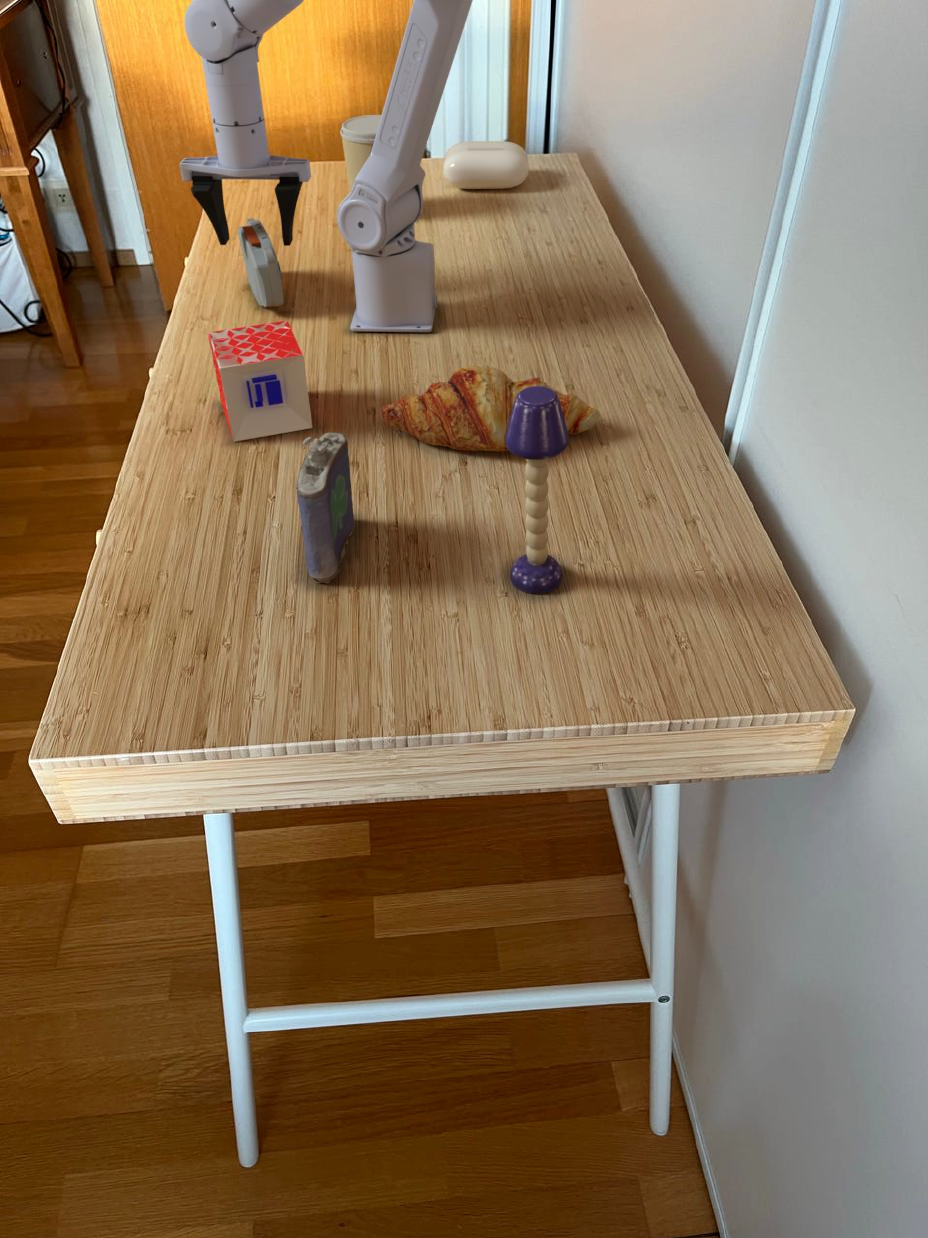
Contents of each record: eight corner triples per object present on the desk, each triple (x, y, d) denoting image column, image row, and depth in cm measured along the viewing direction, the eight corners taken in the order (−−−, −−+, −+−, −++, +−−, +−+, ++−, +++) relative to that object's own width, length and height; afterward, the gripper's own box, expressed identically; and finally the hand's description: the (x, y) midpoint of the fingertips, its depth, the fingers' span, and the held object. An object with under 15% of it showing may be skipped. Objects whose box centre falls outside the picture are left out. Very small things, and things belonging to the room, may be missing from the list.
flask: (334, 586, 80) (319, 474, 73) (299, 583, 81) (281, 471, 73) (359, 519, 87) (348, 411, 80) (327, 517, 87) (313, 409, 80)
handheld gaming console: (288, 317, 118) (279, 250, 112) (264, 321, 117) (254, 254, 112) (265, 271, 128) (255, 208, 123) (242, 275, 127) (232, 211, 122)
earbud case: (444, 172, 157) (443, 136, 153) (526, 172, 156) (527, 135, 153) (442, 194, 149) (441, 156, 145) (529, 194, 149) (530, 156, 145)
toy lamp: (518, 601, 78) (523, 416, 67) (493, 568, 82) (495, 386, 71) (571, 585, 80) (585, 401, 69) (545, 553, 83) (554, 372, 72)
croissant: (590, 445, 102) (592, 366, 100) (607, 453, 92) (610, 364, 90) (385, 447, 101) (383, 366, 99) (379, 454, 92) (377, 365, 90)
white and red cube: (297, 391, 104) (287, 320, 99) (312, 427, 99) (303, 354, 93) (221, 404, 102) (207, 332, 97) (232, 442, 97) (218, 368, 92)
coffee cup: (410, 224, 140) (405, 133, 132) (344, 224, 140) (336, 133, 132) (413, 201, 147) (409, 113, 139) (350, 201, 147) (343, 113, 139)
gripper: (309, 109, 112) (322, 230, 121) (183, 108, 112) (204, 228, 121) (298, 127, 106) (312, 252, 116) (166, 126, 107) (190, 251, 116)
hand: (256, 242), depth 118 cm, fingers open, 7 cm apart
